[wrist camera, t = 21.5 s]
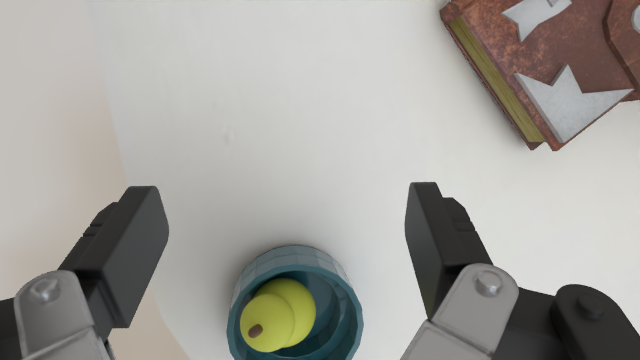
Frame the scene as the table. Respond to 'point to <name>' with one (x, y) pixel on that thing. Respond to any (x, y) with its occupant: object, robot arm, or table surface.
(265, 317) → the pear
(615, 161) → the table surface
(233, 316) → the bowl
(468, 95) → the table surface
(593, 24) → the book
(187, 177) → the table surface
